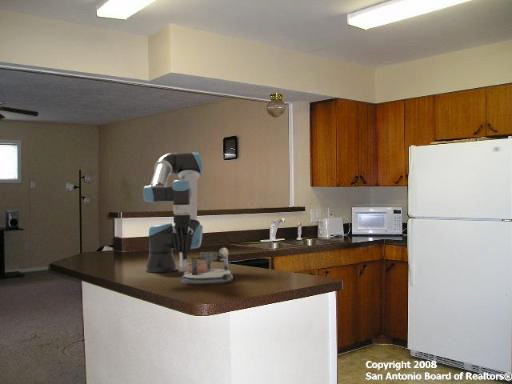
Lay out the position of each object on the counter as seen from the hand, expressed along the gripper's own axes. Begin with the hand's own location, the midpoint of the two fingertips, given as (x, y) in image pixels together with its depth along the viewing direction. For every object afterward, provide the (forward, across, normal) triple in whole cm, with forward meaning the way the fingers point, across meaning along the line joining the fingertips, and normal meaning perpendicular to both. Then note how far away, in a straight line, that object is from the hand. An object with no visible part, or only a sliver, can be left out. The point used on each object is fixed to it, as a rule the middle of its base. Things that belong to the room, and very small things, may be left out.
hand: (183, 266), depth 230 cm
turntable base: (+5, +14, 0) cm, 15 cm away
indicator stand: (+5, +14, +13) cm, 20 cm away
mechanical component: (+5, 0, +17) cm, 18 cm away
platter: (+3, +15, 0) cm, 16 cm away
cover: (+2, +9, 0) cm, 9 cm away
